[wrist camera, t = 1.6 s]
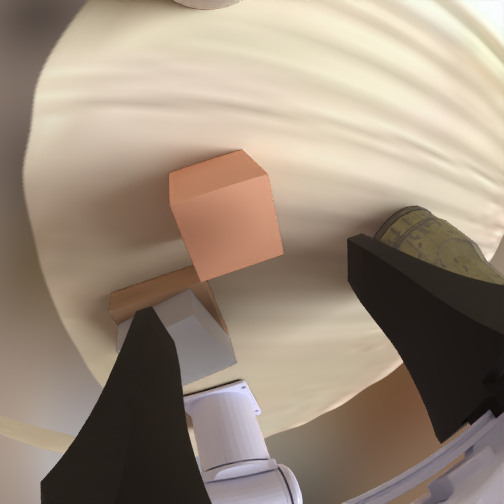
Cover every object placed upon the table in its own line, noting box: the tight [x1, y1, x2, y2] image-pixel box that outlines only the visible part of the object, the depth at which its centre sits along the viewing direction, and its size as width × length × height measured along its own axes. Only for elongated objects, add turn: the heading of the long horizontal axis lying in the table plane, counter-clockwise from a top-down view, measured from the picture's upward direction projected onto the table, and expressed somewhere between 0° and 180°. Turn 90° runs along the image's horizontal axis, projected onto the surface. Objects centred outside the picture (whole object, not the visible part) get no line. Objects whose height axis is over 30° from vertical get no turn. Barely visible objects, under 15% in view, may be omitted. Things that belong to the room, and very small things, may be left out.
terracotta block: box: [169, 150, 284, 282], centre depth 16 cm, size 4×4×5 cm
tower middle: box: [116, 288, 237, 386], centre depth 19 cm, size 6×6×2 cm
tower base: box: [108, 265, 229, 336], centre depth 21 cm, size 7×7×2 cm
